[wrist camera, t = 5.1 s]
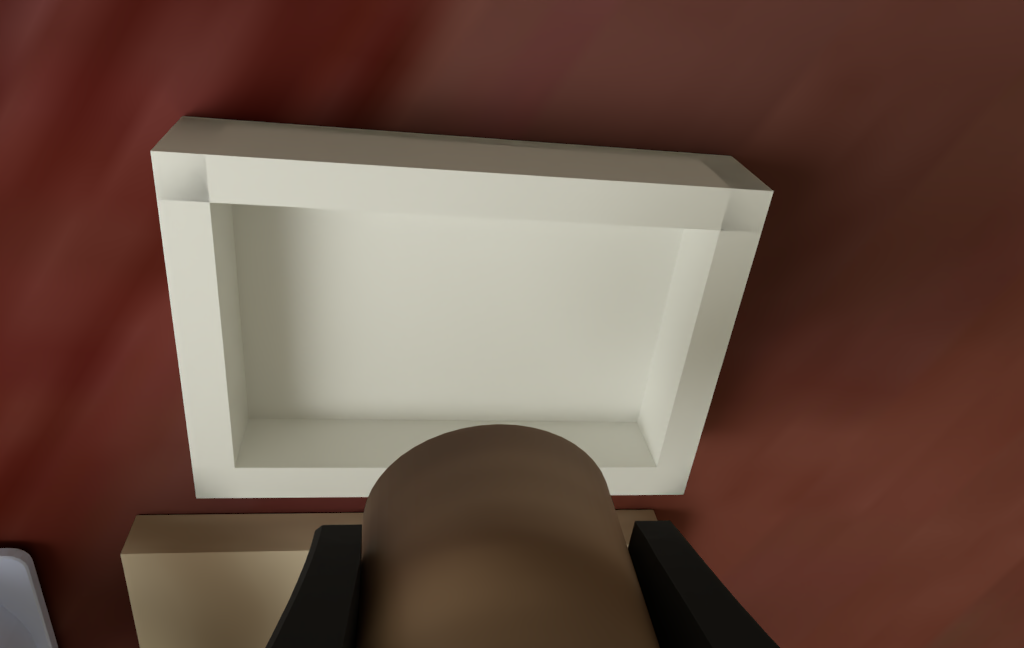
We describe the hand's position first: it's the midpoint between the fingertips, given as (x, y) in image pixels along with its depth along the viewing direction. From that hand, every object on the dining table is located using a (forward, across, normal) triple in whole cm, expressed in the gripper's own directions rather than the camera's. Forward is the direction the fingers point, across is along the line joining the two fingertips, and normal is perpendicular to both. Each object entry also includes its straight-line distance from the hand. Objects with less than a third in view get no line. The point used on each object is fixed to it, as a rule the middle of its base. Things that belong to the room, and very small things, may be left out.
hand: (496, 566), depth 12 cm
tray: (+9, 0, 0) cm, 9 cm away
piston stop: (+1, 0, 0) cm, 1 cm away
